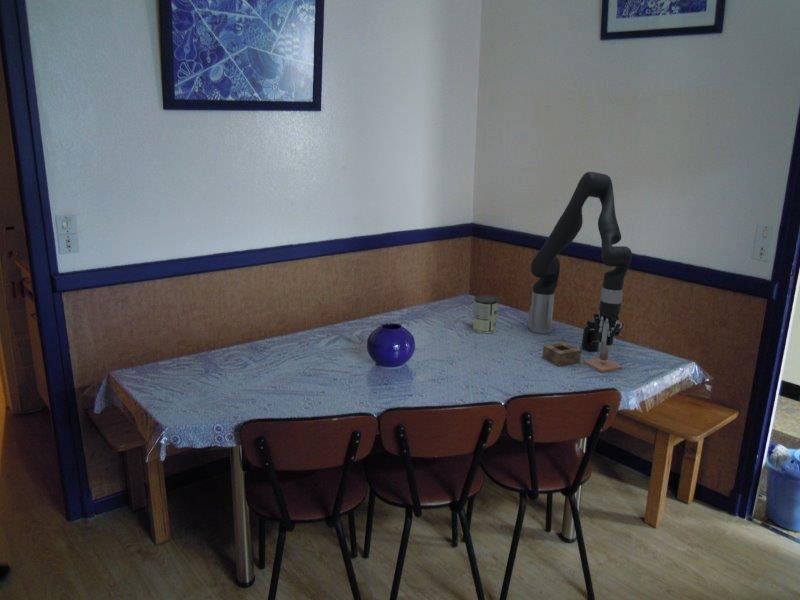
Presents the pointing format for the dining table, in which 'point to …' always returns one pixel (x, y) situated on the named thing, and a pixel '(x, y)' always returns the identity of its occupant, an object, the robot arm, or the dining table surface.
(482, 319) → the coffee can
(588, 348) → the supplement bottle
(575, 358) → the walnut block
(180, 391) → the dining table surface
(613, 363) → the terracotta mat
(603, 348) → the metal pin
